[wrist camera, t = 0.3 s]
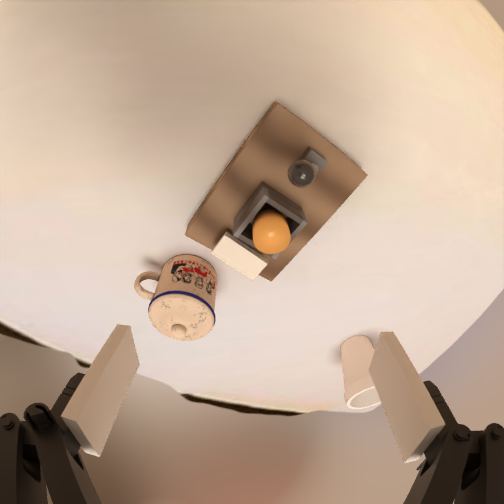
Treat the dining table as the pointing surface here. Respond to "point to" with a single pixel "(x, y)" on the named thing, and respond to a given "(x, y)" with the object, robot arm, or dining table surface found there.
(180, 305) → the teacup with lid
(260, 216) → the push button
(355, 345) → the foam cup
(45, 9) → the dining table surface
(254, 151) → the switch panel
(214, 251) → the rocker switch
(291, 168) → the toggle lever
